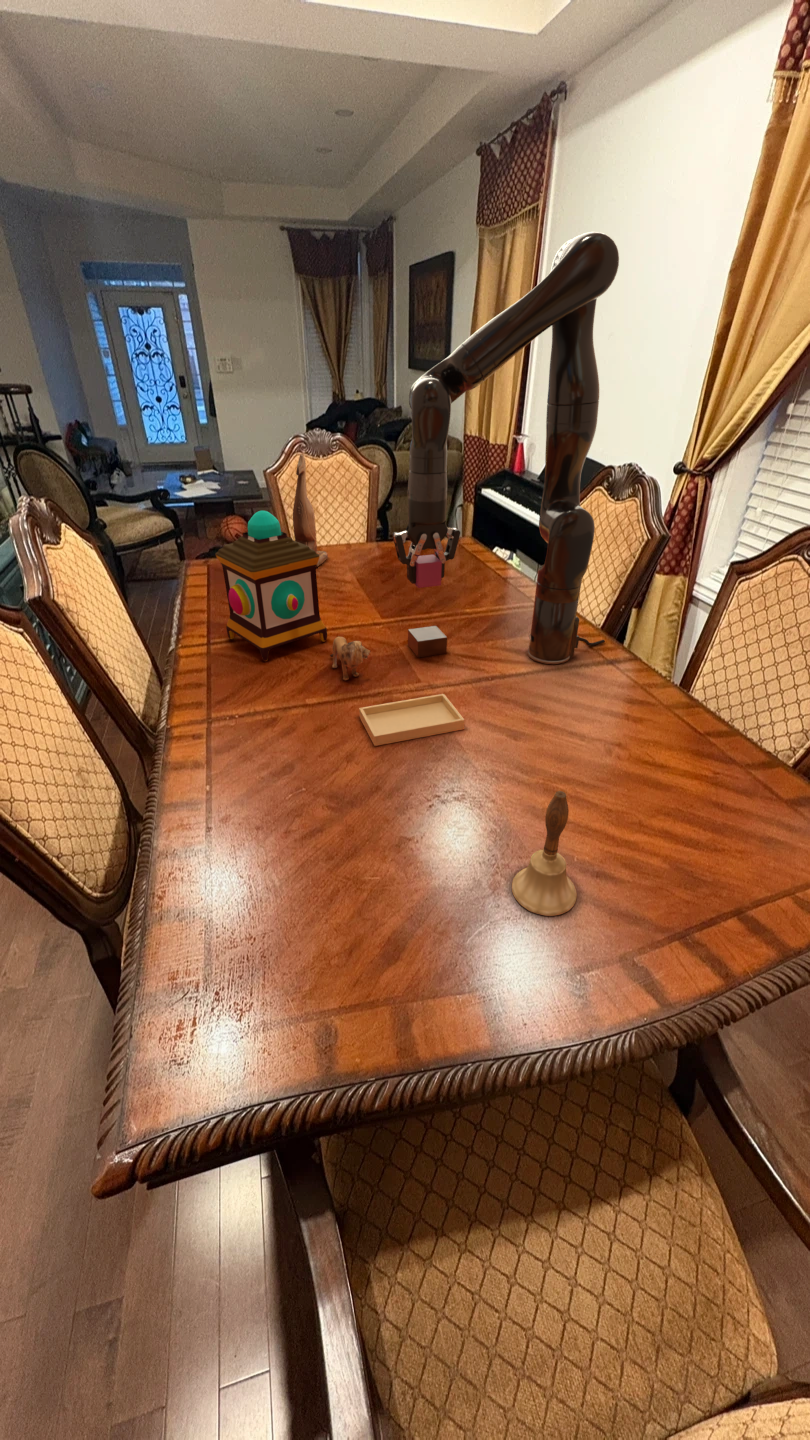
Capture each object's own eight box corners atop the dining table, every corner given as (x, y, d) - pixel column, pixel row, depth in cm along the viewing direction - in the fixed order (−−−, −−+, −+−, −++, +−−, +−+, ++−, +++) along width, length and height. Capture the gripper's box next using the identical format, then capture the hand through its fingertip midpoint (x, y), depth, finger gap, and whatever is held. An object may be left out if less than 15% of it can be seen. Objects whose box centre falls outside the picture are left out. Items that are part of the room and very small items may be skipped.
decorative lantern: (261, 667, 133) (242, 528, 117) (219, 638, 145) (196, 509, 129) (336, 641, 144) (327, 511, 128) (291, 617, 157) (278, 495, 141)
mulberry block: (432, 577, 129) (433, 554, 126) (441, 585, 125) (441, 561, 122) (410, 580, 127) (410, 556, 125) (418, 588, 123) (418, 563, 121)
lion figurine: (373, 681, 127) (372, 642, 123) (351, 688, 125) (349, 648, 120) (340, 655, 138) (338, 618, 133) (319, 661, 135) (316, 623, 130)
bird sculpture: (284, 566, 191) (272, 457, 174) (295, 555, 201) (286, 451, 184) (318, 568, 190) (310, 458, 173) (328, 557, 199) (321, 452, 182)
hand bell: (505, 869, 82) (516, 775, 74) (564, 865, 83) (583, 772, 74) (520, 918, 75) (535, 821, 67) (585, 914, 76) (608, 817, 67)
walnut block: (435, 641, 144) (436, 625, 142) (446, 653, 139) (447, 637, 137) (407, 645, 142) (407, 629, 140) (417, 657, 137) (418, 641, 135)
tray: (443, 702, 120) (443, 693, 119) (464, 729, 112) (464, 719, 111) (359, 717, 115) (359, 707, 114) (374, 746, 107) (374, 736, 106)
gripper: (397, 502, 112) (398, 591, 121) (469, 497, 116) (464, 583, 125) (386, 494, 118) (387, 579, 127) (454, 489, 122) (451, 572, 131)
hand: (425, 580), depth 126 cm, fingers closed on mulberry block, 5 cm apart
